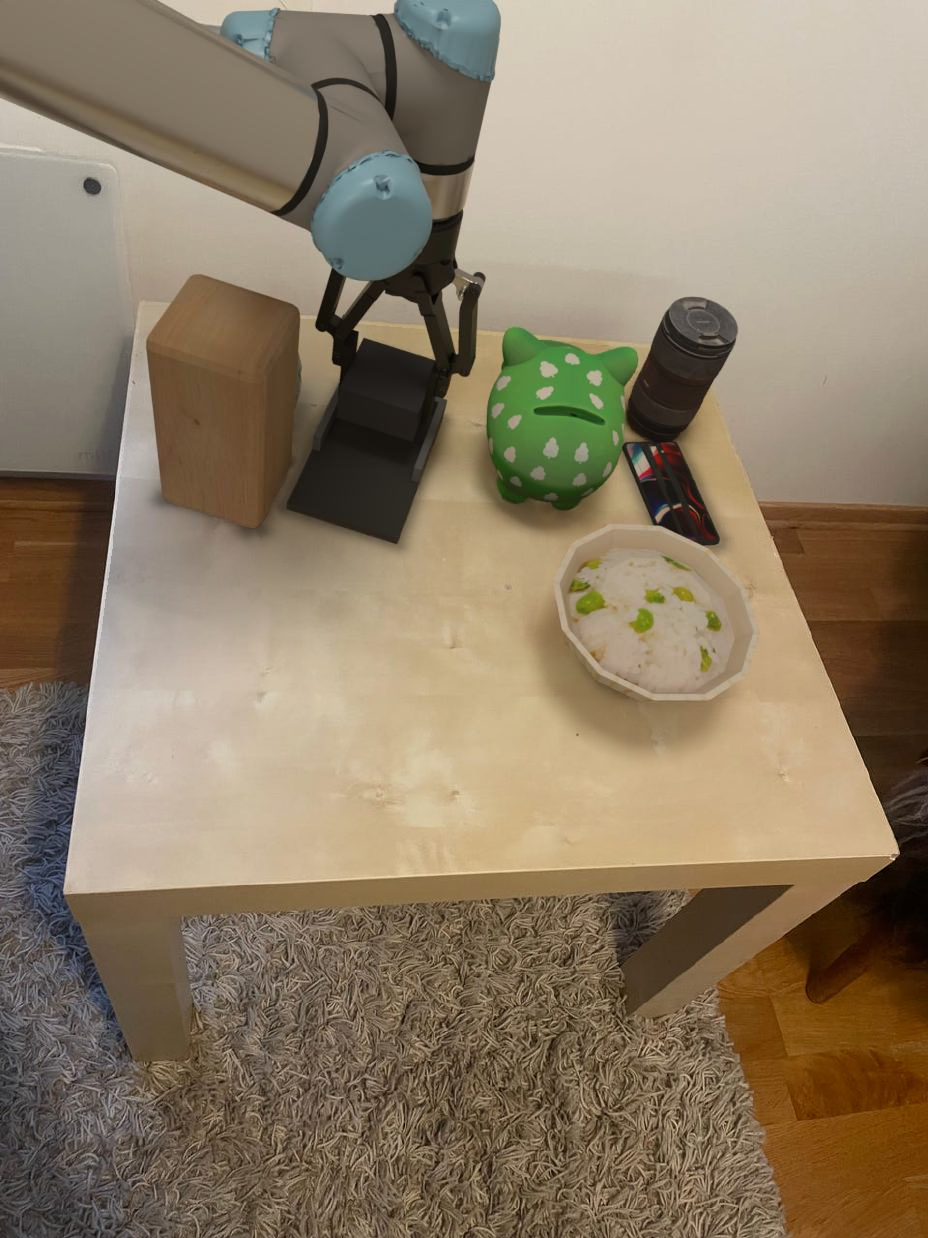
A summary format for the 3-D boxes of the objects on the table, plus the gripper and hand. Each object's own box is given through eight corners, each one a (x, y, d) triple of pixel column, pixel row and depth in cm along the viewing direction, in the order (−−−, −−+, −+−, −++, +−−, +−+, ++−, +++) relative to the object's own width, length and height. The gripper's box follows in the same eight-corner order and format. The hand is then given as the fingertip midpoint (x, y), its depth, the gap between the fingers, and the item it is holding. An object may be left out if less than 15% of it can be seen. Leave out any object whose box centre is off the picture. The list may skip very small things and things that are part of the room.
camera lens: (609, 400, 110) (655, 295, 97) (668, 395, 112) (720, 292, 100) (636, 451, 106) (687, 348, 93) (696, 444, 108) (754, 343, 96)
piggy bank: (593, 418, 107) (638, 313, 95) (603, 541, 97) (655, 441, 85) (472, 398, 105) (503, 288, 93) (470, 522, 95) (504, 416, 83)
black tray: (396, 544, 92) (401, 525, 89) (286, 509, 91) (287, 489, 89) (442, 419, 102) (447, 399, 100) (343, 387, 102) (346, 366, 100)
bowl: (496, 596, 90) (521, 533, 82) (662, 561, 97) (701, 500, 89) (577, 773, 82) (614, 721, 73) (753, 721, 88) (805, 668, 80)
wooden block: (158, 503, 89) (139, 337, 72) (200, 433, 94) (191, 265, 78) (258, 535, 89) (262, 377, 73) (294, 463, 95) (304, 302, 78)
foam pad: (336, 417, 92) (339, 387, 89) (359, 367, 97) (363, 337, 94) (412, 441, 93) (418, 412, 89) (432, 390, 97) (439, 361, 94)
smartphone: (663, 547, 98) (621, 441, 106) (661, 550, 99) (619, 445, 106) (723, 542, 100) (677, 439, 108) (720, 546, 101) (675, 443, 108)
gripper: (282, 182, 74) (275, 394, 92) (532, 262, 74) (474, 457, 93) (313, 136, 78) (300, 348, 97) (548, 212, 78) (490, 408, 97)
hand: (385, 401), depth 95 cm, fingers closed on foam pad, 8 cm apart
